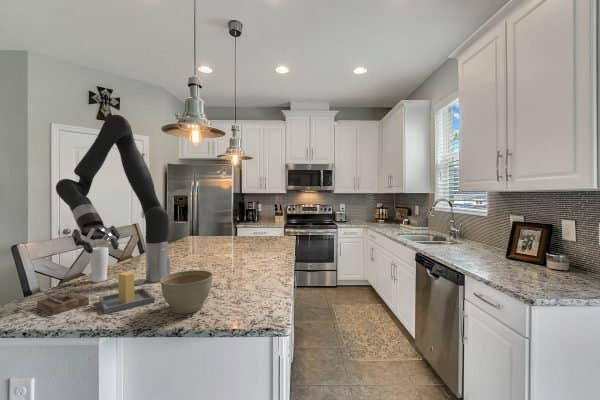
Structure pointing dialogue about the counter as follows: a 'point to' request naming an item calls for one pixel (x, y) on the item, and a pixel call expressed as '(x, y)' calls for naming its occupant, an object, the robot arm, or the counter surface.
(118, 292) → the spoon
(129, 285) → the yellow rectangular block
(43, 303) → the brown wooden compartment tray
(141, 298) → the tray
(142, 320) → the counter surface
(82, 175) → the robot arm
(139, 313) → the counter surface
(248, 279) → the counter surface
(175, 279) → the planter bowl
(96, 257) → the drinking glass
